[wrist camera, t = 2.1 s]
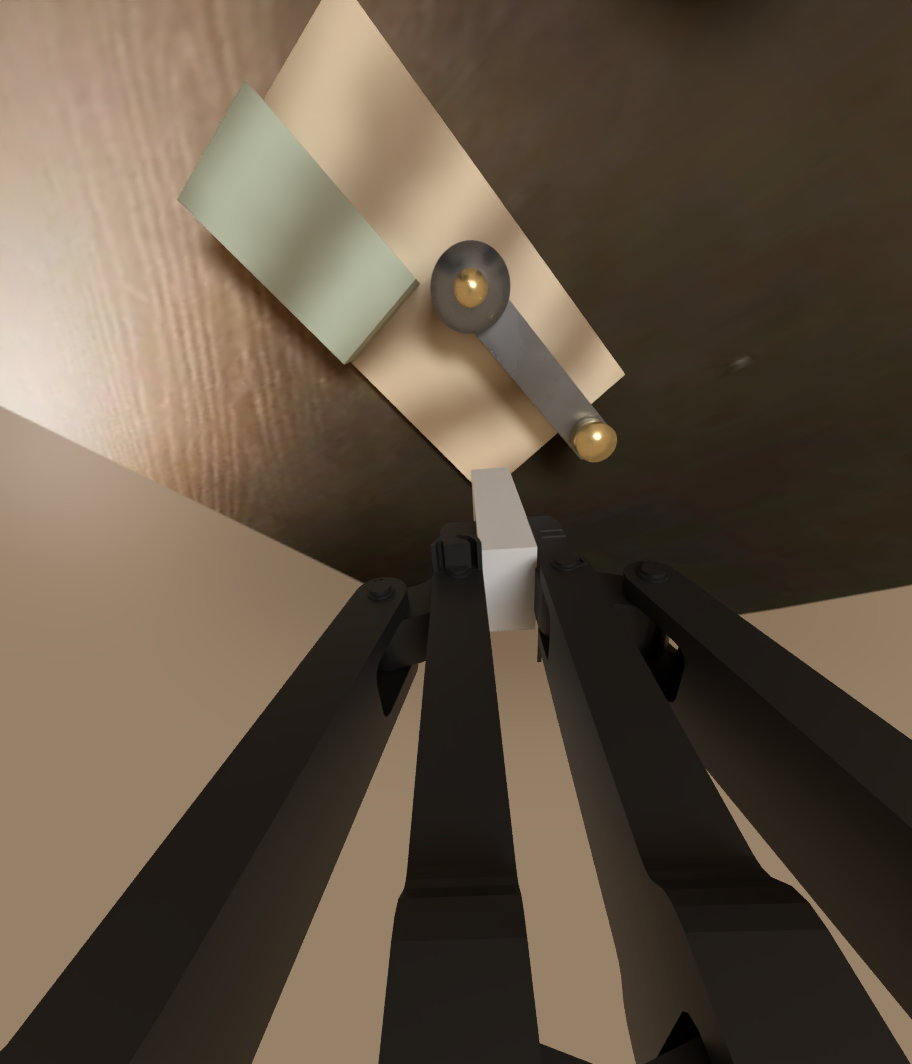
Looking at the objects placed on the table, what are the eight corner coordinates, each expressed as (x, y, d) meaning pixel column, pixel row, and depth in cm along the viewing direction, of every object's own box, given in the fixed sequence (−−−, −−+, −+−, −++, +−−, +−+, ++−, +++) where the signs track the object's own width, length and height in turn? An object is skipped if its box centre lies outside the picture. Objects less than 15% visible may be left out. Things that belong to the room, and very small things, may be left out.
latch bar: (418, 292, 25) (411, 286, 21) (470, 232, 24) (473, 213, 20) (562, 458, 30) (579, 479, 26) (612, 417, 29) (638, 432, 25)
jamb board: (206, 213, 24) (165, 195, 21) (341, -15, 20) (318, -83, 17) (484, 492, 32) (487, 511, 29) (620, 373, 28) (643, 379, 25)
